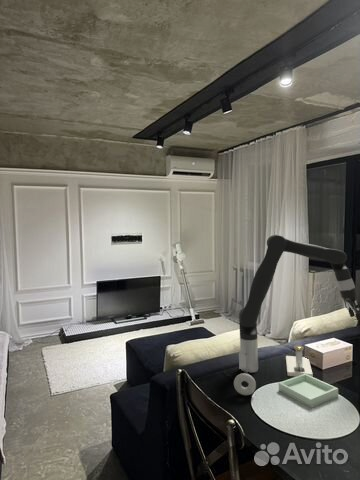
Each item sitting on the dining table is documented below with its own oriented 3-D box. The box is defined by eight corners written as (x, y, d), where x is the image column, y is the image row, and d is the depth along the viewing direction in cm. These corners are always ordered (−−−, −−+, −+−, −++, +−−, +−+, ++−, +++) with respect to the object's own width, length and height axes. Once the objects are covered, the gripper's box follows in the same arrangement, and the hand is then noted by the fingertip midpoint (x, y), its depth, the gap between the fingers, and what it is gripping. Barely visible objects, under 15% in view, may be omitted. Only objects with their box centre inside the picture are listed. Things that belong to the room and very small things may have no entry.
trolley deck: (312, 377, 164) (312, 374, 164) (287, 375, 167) (287, 371, 167) (308, 360, 185) (308, 357, 185) (286, 359, 188) (285, 355, 188)
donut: (233, 396, 149) (233, 374, 148) (234, 392, 152) (233, 371, 152) (256, 397, 146) (255, 375, 146) (256, 394, 150) (255, 372, 150)
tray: (310, 407, 137) (310, 399, 137) (278, 390, 153) (278, 382, 153) (338, 396, 146) (338, 388, 145) (305, 380, 161) (305, 373, 161)
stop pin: (299, 376, 166) (299, 349, 166) (292, 372, 170) (292, 346, 170) (306, 374, 168) (305, 347, 168) (299, 370, 173) (298, 345, 172)
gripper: (334, 287, 175) (343, 317, 174) (344, 291, 161) (354, 323, 160) (348, 284, 174) (357, 313, 174) (360, 287, 160) (370, 319, 159)
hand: (356, 318), depth 167 cm, fingers open, 8 cm apart
